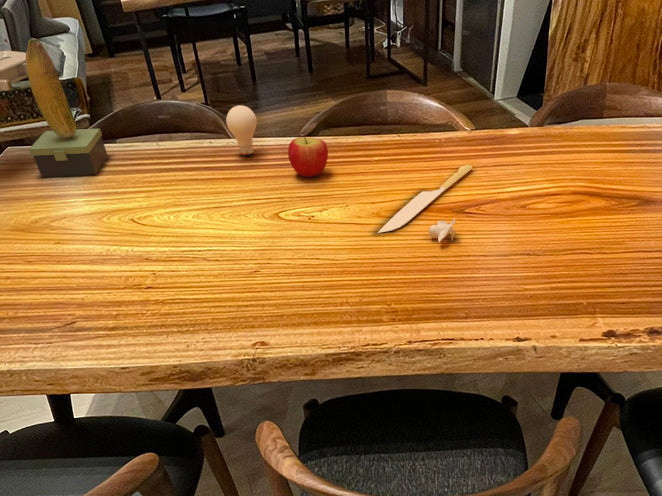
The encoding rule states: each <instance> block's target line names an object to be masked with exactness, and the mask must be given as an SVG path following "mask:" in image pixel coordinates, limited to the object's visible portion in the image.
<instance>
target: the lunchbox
mask: <svg viewBox="0 0 662 496" xmlns="http://www.w3.org/2000/svg"><path fill="white" fill-rule="evenodd" d="M102 136H103V133H102V130H101V128H82V129H81V128H79V129H76V131H75V134H74V136H73V137H71V138H62V137H60V136H58V135H57V134H56V133H55V132H54V131H53V130H45V131H44V132H43V133H42V134H41V135H40V136H39V138H38V139H37V140H35V142H34V143H33V144H32V145H31V146H30V147H29V148H28V150H29V153H30V156H31V157H33V159H34V163H35V164H36V166H37V169H38V171H39V174H40V176H41V178H54V177H57V178H59V177H76V176H95V175H97V174H98V172H99V170H100V169H101V168H102V167H103V164H104V163H105V162H106V160H107V159H108V157H109V156H108V152H107V149H106V146H105V142H104V140H103V137H102Z"/></svg>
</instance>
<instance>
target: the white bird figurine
mask: <svg viewBox="0 0 662 496" xmlns="http://www.w3.org/2000/svg"><path fill="white" fill-rule="evenodd" d="M455 224H456V217H454V218H453V219H452V221H451V222H450V223H448V222H447V221H446V220H444V219H443V220H437V224H433V225H430V227H429V228H428V234H429V236H430V237H432V238H435V239H437V240H438V241H437V242H438V243H440V242H441V241H442V240H443V239H445V237H447V236H448V235H449V234H450V238H451V240H454V239H453V238H454V236H455V234H456V232H457V231H456V229H457V228H456V227H454V228H453V225H455Z"/></svg>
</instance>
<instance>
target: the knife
mask: <svg viewBox="0 0 662 496" xmlns="http://www.w3.org/2000/svg"><path fill="white" fill-rule="evenodd" d="M472 169H473V166H472V165H471V164H465V165H462V166H460V167H458V171H456V172H455V173H454V174H452V176H450V177H449V178H447V180H445V181H444V183H442V185H441V186H440V187H439V189H435V190H432V191H429V190H428V191H426V190H425V191H424V190H422V191H421V192H419V193H418V194H417V195H416V196H414V197H413V198H412V200H410V201H409V202H408V203H407V204H405V206H403V207H402V208H401V209H400V210H399V211H398V212H397V213H395V214H394V215H393V216H392V217H391V218H390V219H389V220H388V221H387V222H386V223H385V224H384V225H383V226H382V227H381V228H380V229H379V231H377V234H380V233H385V232H386V233H387V232H392V231H394V230H397V229H399V228H401V227H403V226H405V225H406V224H407V223H408V222H410V221H411V220H412V219H414V218H415V217H416V216H417V215H418V214H420V212H421V211H423V210H424V209H425V208H426V207H428V205H430V204H431V203H433V202H434V200H435V199H437V198H438V197H439V196H440V195H441V194H443V193H444V192H446V190H447V189H449V188H450V187H451V186H452V185H454V184H455V183H456V182H458V181H459V180H460V179H461V178H463V177H464V176H465V175H467V174H468V173H469V172H470V171H471V170H472Z"/></svg>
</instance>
